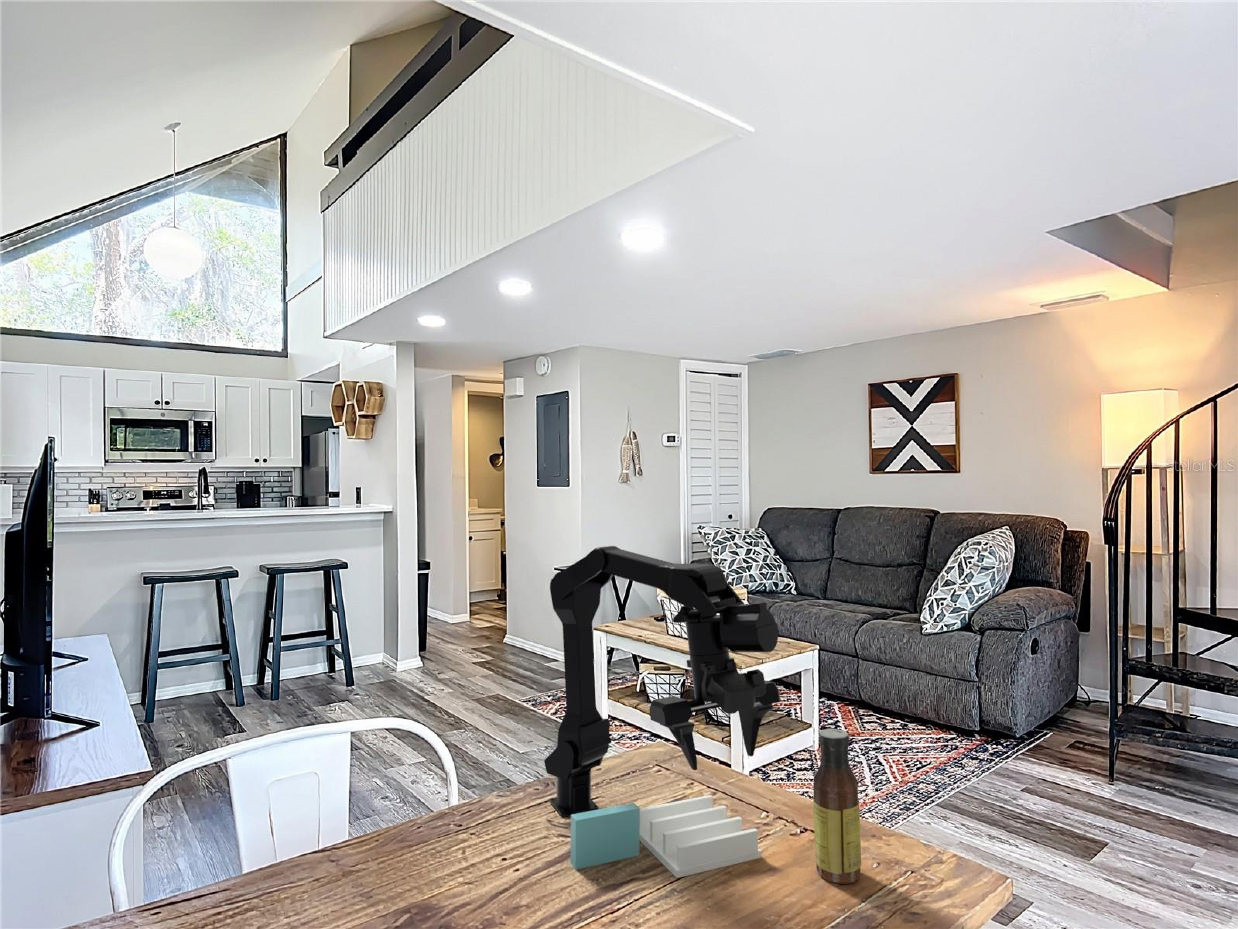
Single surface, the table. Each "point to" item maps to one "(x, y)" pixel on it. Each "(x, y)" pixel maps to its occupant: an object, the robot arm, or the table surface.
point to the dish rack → (696, 836)
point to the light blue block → (604, 835)
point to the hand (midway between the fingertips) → (722, 762)
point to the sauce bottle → (836, 811)
